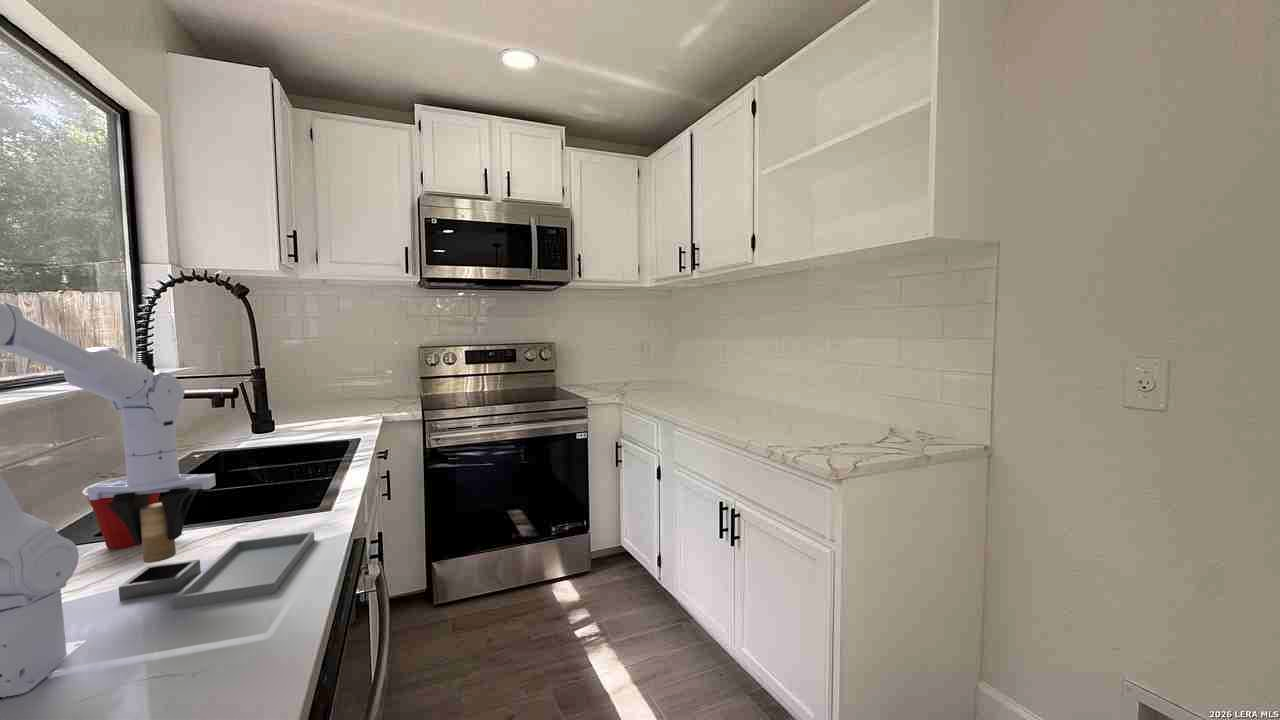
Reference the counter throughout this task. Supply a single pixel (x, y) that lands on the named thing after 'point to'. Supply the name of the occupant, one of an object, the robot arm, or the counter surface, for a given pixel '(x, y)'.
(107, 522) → the plastic cup
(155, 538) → the oak dowel
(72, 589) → the counter surface
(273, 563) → the slate tray
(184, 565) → the pin holder
